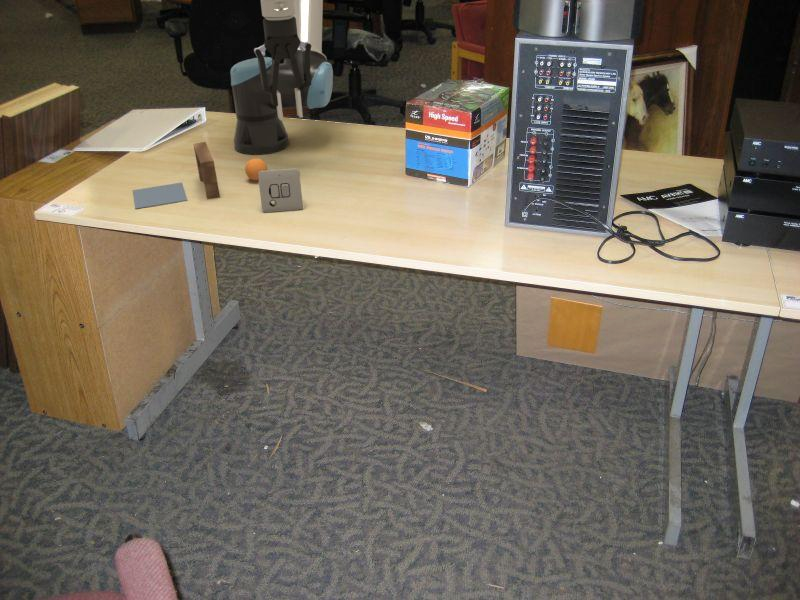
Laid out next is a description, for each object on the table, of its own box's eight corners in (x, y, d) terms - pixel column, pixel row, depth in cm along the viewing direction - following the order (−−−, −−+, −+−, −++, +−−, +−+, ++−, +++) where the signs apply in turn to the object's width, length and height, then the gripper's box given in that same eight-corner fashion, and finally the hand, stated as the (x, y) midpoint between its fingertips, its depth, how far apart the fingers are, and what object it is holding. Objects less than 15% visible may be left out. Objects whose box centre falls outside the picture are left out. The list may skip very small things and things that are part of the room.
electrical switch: (261, 213, 170) (256, 173, 166) (263, 206, 174) (258, 167, 170) (303, 210, 171) (299, 171, 167) (303, 203, 175) (299, 164, 171)
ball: (266, 174, 190) (263, 153, 187) (270, 181, 186) (268, 160, 183) (244, 177, 189) (241, 157, 186) (248, 185, 184) (245, 164, 181)
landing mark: (182, 183, 187) (182, 182, 187) (187, 200, 177) (187, 199, 177) (132, 190, 184) (132, 190, 184) (135, 209, 174) (135, 208, 174)
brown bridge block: (211, 176, 190) (205, 141, 185) (220, 197, 178) (213, 160, 174) (199, 178, 189) (193, 143, 185) (207, 199, 178) (200, 162, 173)
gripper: (244, 23, 165) (258, 126, 177) (319, 15, 170) (328, 116, 182) (238, 17, 171) (252, 117, 183) (311, 10, 176) (320, 108, 188)
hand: (290, 117), depth 182 cm, fingers open, 4 cm apart
